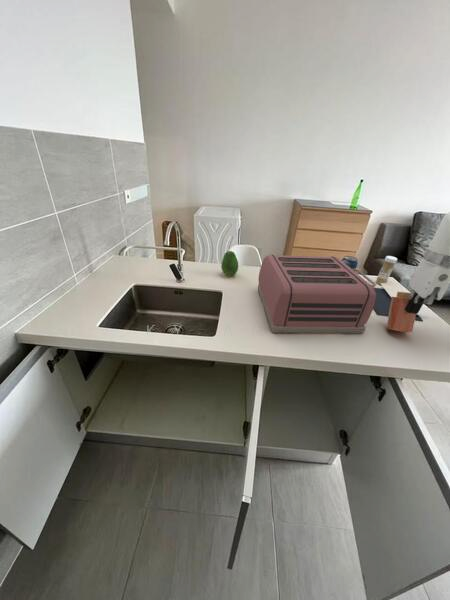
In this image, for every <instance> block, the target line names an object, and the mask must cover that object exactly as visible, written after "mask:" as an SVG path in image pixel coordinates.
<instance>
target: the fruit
mask: <svg viewBox="0 0 450 600" xmlns="http://www.w3.org/2000/svg"><path fill="white" fill-rule="evenodd" d="M220 267H221V271H222V273H223V274H224V275H225V276H227V277H233V276H235V275H236V274H237V273H238V271H239V260H238V259H237V255H236V253H235V252H234V251H232V250H227V251H226V252H225V253H224V255H223V258H222V260H221V265H220Z"/></svg>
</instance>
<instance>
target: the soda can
mask: <svg viewBox="0 0 450 600" xmlns="http://www.w3.org/2000/svg"><path fill="white" fill-rule="evenodd" d="M340 260H341V261H343V262H344V263H345V264H346V265H347V266H349V267H350V268H352V269H357V266H358V263H359V262H358V258H357V257H355V256H351V255H345V256H343V257H342V259H340Z"/></svg>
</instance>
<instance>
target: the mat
mask: <svg viewBox="0 0 450 600" xmlns="http://www.w3.org/2000/svg"><path fill="white" fill-rule="evenodd" d="M373 288H374V290H375V293H376V299H375V304H374V307H373V311H374V312H375V314H376V316H382V317H388V315H389V310H390V304H391V298H392V296H391V295H390V294H389V292H388V291H387V290H386V289H385V288H383V287H373ZM417 321H418V322H424V320H423V318H422V317H421V316H420V315H419V313H418V314H416V317H415V322H417Z"/></svg>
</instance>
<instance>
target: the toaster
mask: <svg viewBox="0 0 450 600" xmlns="http://www.w3.org/2000/svg"><path fill="white" fill-rule="evenodd" d="M341 260H342V259H340V258H339V257H337V256H315V255H285V254H284V255H282V254H268V255H266V256H265V257H264V258H263V259H262V263H261V265H260V268H259V273H258V278H257V279H258V285H257V292H258V294H259V297H260V301H261V304H262V306H263V310H264V312H265V315H266V318H267V322H268V324H269V327H270V330H271V333H272V334H363V333H364V332H365V331H366V328H367V327H366V326H365V325H366V324H367V323H368V321H370V317H371V316H372V313H373V311H374V309H373V307H374V304H375V299H376V293H375V290H374V288H376V285H377V283H376V282H374V281H373V280H372V279H371V278H370V277H368V276H367V275H365V273H363V272H362V271H361V270H359V269H358V268H356V269H352V268H350V267H349V266H347V265H346V264H345V263H344V262H343V261H341ZM364 278H365V279H364ZM367 281H368V282H367ZM369 282H370V283H369ZM373 287H374V288H373Z"/></svg>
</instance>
